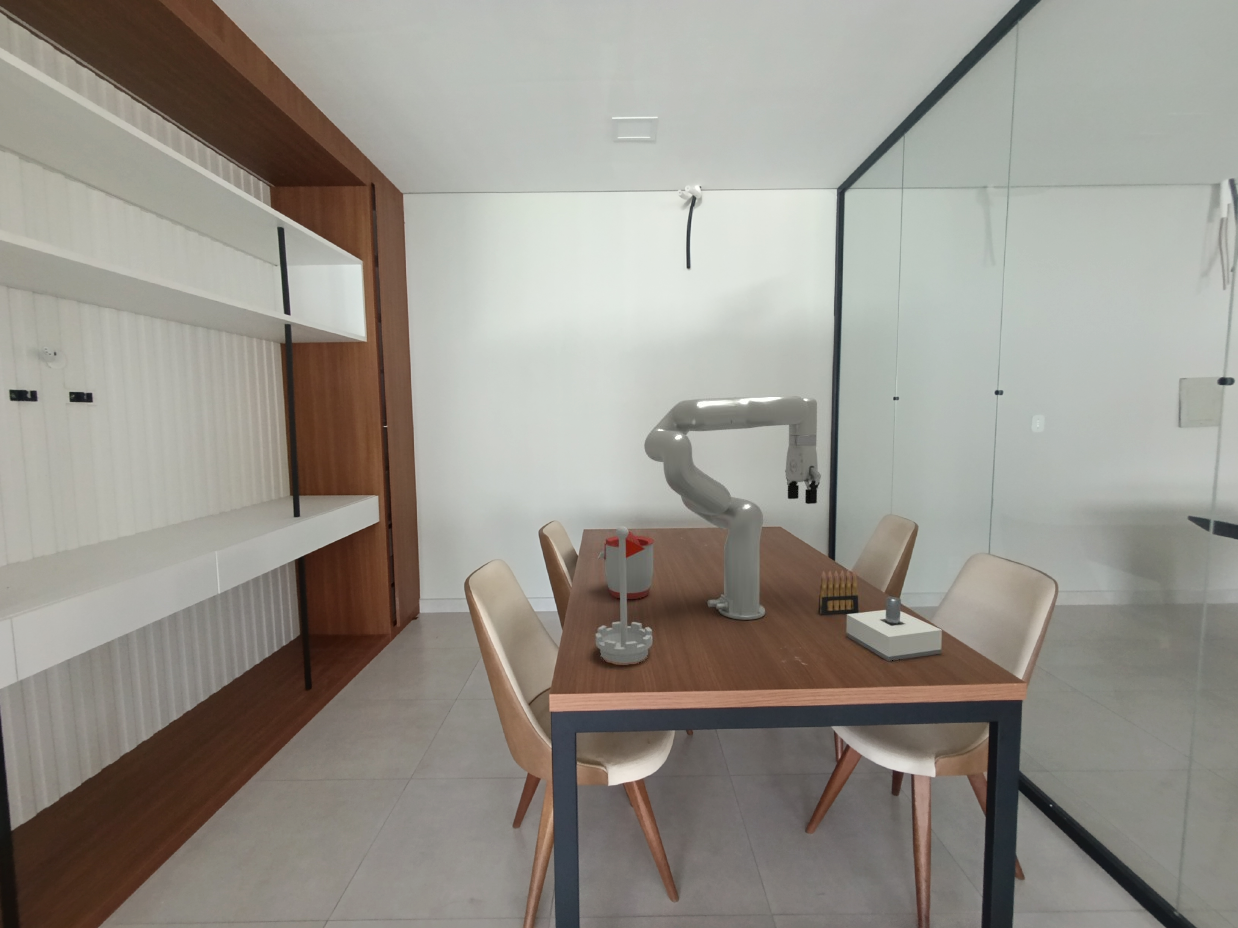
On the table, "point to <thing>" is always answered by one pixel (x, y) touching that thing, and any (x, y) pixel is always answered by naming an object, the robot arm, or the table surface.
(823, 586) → the ammunition clip
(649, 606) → the table surface
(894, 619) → the pin
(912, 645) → the socket block
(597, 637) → the flag stand
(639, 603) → the table surface
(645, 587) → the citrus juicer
